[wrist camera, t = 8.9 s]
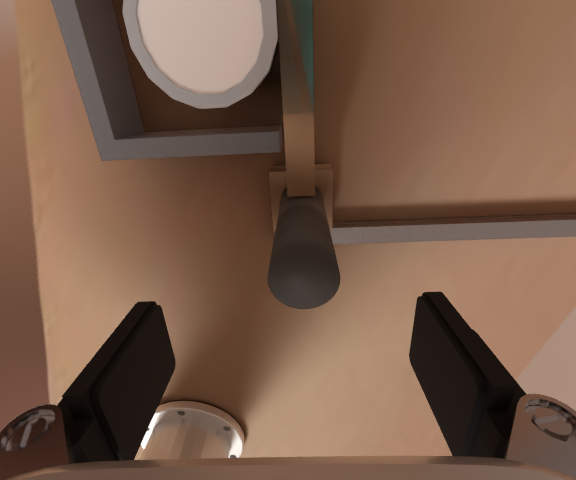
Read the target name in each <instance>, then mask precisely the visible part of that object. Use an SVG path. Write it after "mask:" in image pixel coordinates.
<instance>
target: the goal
mask: <svg viewBox="0 0 576 480" xmlns="http://www.w3.org/2000/svg"><path fill="white" fill-rule="evenodd" d="M51 1H52V4H53V7H54V10H55V14H56V17H57V20H58V23H59V26H60V30H61V33H62V36H63V39H64V42H65V45H66V49H67V52H68V55H69V58H70V61H71V65H72V68H73V71H74V74H75V77H76V81H77V84H78V87H79V90H80V93H81V96H82V100H83V103H84V106H85V109H86V112H87V116H88V119H89V122H90V125H91V128H92V131H93V135H94V138H95V141H96V144H97V147H98V151H99V154H100V157H101V160H102V161H107V160H128V159H149V158H170V157H190V156H211V155H232V154H253V153H274V152H280V150H281V147H282V144H283V135H282V125H270V126H251V127H232V128H213V129H194V130H175V131H156V132H144V128H143V124H142V120H141V116H140V112H139V108H138V103H137V99H136V95H135V91H134V87H133V83H132V79H131V75H130V71H129V66H128V62H127V58H126V54H125V50H124V46H123V42H122V38H121V34H120V30H119V25H118V21H117V17H116V13H115V9H114V5H113V1H112V0H51Z"/></svg>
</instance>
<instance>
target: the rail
mask: <svg viewBox="0 0 576 480" xmlns="http://www.w3.org/2000/svg"><path fill="white" fill-rule="evenodd" d="M274 233H275V231H274ZM330 233H331V237H332V242H333V244H356V243H387V242H419V241H450V240H481V239H512V238H543V237H574V236H576V213H574V214H546V215H518V216H490V217H463V218H435V219H407V220H379V221H351V222H333V229H330Z"/></svg>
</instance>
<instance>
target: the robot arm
mask: <svg viewBox="0 0 576 480" xmlns="http://www.w3.org/2000/svg"><path fill="white" fill-rule="evenodd" d="M409 357H410V362H411V365H412V367H413V370H414V372H415V374H416V376H417V378H418V381H419V383H420V385H421V387H422V389H423V392H424V394H425V396H426V398H427V400H428V403H429V405H430V407H431V409H432V411H433V414H434V416H435V418H436V420H437V422H438V425H439V427H440V429H441V431H442V433H443V435H444V438H445V440H446V442H447V444H448V446H449V449H450V451H451V453H452V455H453V456H333V457H261V458H239V457H240V456H241V454H242V451H243V447H244V433H243V431H242V429H241V427H240V425H239V424H238V423H237V422H236V420H235V419H233V418H232V417H231V416H230V415H229V414H227V413H225V412H224V411H222V410H220V409H218V408H216V407H213V406H211V405H208V404H204V403H200V402H193V401H175V402H169V403H165V404H161V405H159V403H160V401H161V398H162V396H163V394H164V392H165V390H166V387H167V385H168V383H169V381H170V379H171V376H172V374H173V372H174V369H175V357H174V353H173V349H172V346H171V342H170V338H169V334H168V330H167V327H166V323H165V319H164V315H163V311H162V308H161V306H160V305H157V304H156V302H154V301H148V302H137V303H136V304H135V305H134V307H133V308H132V309H131V310H130V312H129V313H128V314H127V315H126V317H125V318H124V319H123V320H122V322H121V323H120V324H119V325H118V327H117V328H116V329H115V330H114V332H113V333H112V334H111V335H110V337H109V338H108V339H107V340H106V342H105V343H104V344H103V345H102V347H101V348H100V349H99V351H98V352H97V353H96V354H95V356H94V357H93V358H92V359H91V361H90V362H89V363H88V364H87V366H86V367H85V368H84V369H83V371H82V372H81V373H80V374H79V376H78V377H77V378H76V379H75V381H74V382H73V383H72V384H71V386H70V387H69V388H68V389H67V391H66V392H65V393H64V394H63V396H62V397H63V399H62V400H61V401H60V402H59V404H58V405H57V406H56V405H52V404H46V405H42V406H38V407H35V408H32V409H30V410H28V411H26V412H24V413H22V414H21V415H19V416H17V417H16V418H15V419H13V420H12V421H11V422H10V423H8V424H7V425H6V426H5V427H4V428H3V429H2V430H1V431H0V480H576V411H575V410H573V409H572V408H571V407H569V406H568V405H566V404H564V403H562V402H560V401H558V400H557V399H554V398H551V397H548V396H545V395H540V394H526V393H525V392H524V391H523V390H522V389H521V387H520V386H519V385H518V383H517V382H516V381H515V380H514V378H513V377H512V376H511V375H510V373H509V372H508V371H507V370H506V368H505V367H504V366H503V365H502V364H501V362H500V361H499V360H498V359H497V357H496V356H495V355H494V354H493V352H492V351H491V350H490V349H489V347H488V346H487V345H486V344H485V342H484V341H483V340H482V339H481V338H480V336H479V335H478V334H477V333H476V332H475V331H474V330H473V329H471V328H470V327H469V325H468V324H467V323H466V322H465V320H464V319H463V318H462V317H461V315H460V314H459V313H458V312H457V310H456V309H455V308H454V307H453V305H452V304H451V303H450V302H449V300H448V299H447V298H446V297H445V295H444V294H443V293H442V292H424V293H423V294H422V296H419V297H418V298H417V304H416V311H415V318H414V325H413V332H412V339H411V346H410V353H409ZM158 405H159V406H158ZM140 445H141V446H142V447H143V449H144V451H143V453H142V456H141V458H140V460H134V458H135V456H136V454H137V452H138V449H139V447H140Z"/></svg>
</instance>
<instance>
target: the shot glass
mask: <svg viewBox="0 0 576 480" xmlns="http://www.w3.org/2000/svg"><path fill="white" fill-rule="evenodd" d="M122 13H123V17H124V21H125V25H126V30H127V34H128V38H129V42H130V47H131V49H132V51H133V53H134V54H135V56H136V58H137V59H138V61H139V63H140V64H141V66H142V68H143V69H144V71H145V73H146V74H147V76H148V78H149V79H150V80H151V81H153V82H154V83H155V84H156V85H157V86H158V87H159V88H161V89H162V90H163V91H164V92H165V93H166V94H168V95H169V96H170V97H171V98H172V99H174V100H177V101H180V102H182V103H185V104H188V105H190V106H193V107H196V108H198V109H207V108H224V107H228V106H230V105H232V104H234V103H235V102H237V101H239V100H241V99H243V98H245V97H246V96H248V95H250V94H251V93H252V92H253V91H254V90H255V89H256V88H257V87H258V86H259V85H260V84H261V83H262V81H263V80H264V79H265V77H266V76H267V75H268V73H269V72H270V69H271V66H272V62H273V59H274V55H275V51H276V45H277V40H278V32H277V15H276V0H123V10H122Z"/></svg>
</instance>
